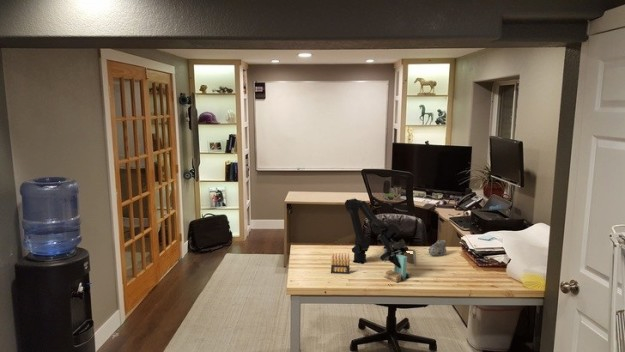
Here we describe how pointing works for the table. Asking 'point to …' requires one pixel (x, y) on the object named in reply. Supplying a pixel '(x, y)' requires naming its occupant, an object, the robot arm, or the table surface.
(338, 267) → the ammunition clip
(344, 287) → the table surface
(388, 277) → the offcut bottom
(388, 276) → the offcut middle
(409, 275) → the rack
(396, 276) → the offcut top
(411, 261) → the picture frame
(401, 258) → the teal rectangular block
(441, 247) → the mineral rock
